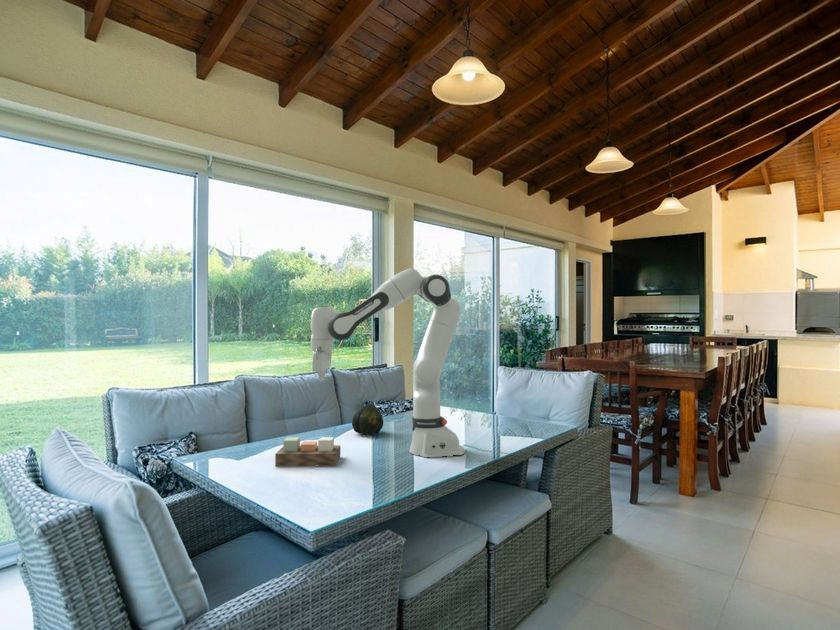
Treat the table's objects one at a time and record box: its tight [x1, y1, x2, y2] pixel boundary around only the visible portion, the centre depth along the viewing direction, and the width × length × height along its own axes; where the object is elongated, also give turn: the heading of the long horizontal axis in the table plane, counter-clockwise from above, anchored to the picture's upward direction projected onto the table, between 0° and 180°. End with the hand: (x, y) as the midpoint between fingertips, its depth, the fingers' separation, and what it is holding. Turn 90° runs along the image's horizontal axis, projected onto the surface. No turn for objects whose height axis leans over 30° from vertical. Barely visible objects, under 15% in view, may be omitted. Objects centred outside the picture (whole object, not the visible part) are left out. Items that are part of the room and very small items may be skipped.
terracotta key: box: [300, 440, 318, 451], centre depth 186 cm, size 5×5×5 cm
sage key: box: [282, 436, 301, 452], centre depth 186 cm, size 5×5×5 cm
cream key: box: [317, 436, 335, 451], centre depth 186 cm, size 5×5×5 cm
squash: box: [351, 402, 384, 437], centre depth 231 cm, size 14×15×15 cm
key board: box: [274, 444, 341, 467], centre depth 186 cm, size 22×12×4 cm, turn 91°
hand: (321, 381), depth 196 cm, fingers closed
